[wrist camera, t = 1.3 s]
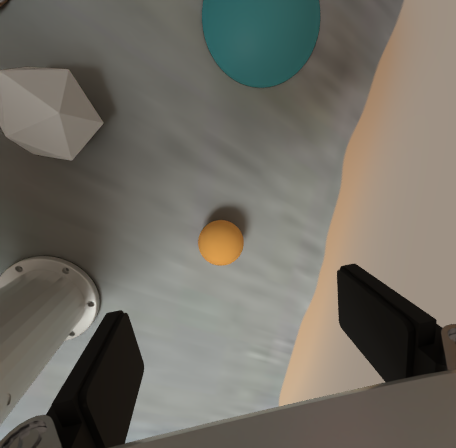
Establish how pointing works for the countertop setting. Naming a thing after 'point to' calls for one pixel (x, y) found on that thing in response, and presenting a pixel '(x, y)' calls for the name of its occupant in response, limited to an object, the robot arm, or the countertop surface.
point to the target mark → (261, 37)
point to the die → (46, 111)
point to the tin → (2, 2)
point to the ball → (220, 242)
